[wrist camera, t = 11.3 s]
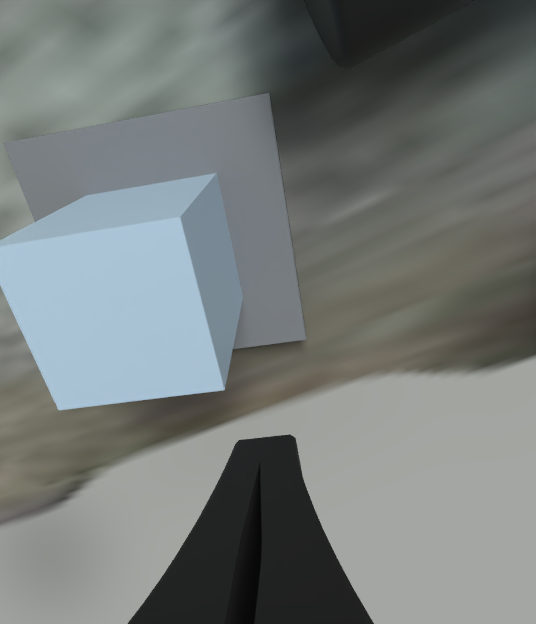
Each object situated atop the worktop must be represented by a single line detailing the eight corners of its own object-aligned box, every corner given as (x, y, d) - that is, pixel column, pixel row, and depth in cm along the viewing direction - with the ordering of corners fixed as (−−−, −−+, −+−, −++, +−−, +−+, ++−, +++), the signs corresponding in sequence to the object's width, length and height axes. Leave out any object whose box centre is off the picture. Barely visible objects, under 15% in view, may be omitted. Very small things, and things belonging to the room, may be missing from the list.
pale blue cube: (216, 173, 17) (180, 217, 11) (243, 297, 19) (224, 389, 13) (86, 195, 17) (-17, 248, 11) (126, 314, 20) (58, 410, 14)
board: (269, 92, 16) (268, 92, 15) (305, 328, 21) (306, 339, 20) (17, 140, 17) (3, 143, 16) (101, 356, 22) (93, 367, 21)
